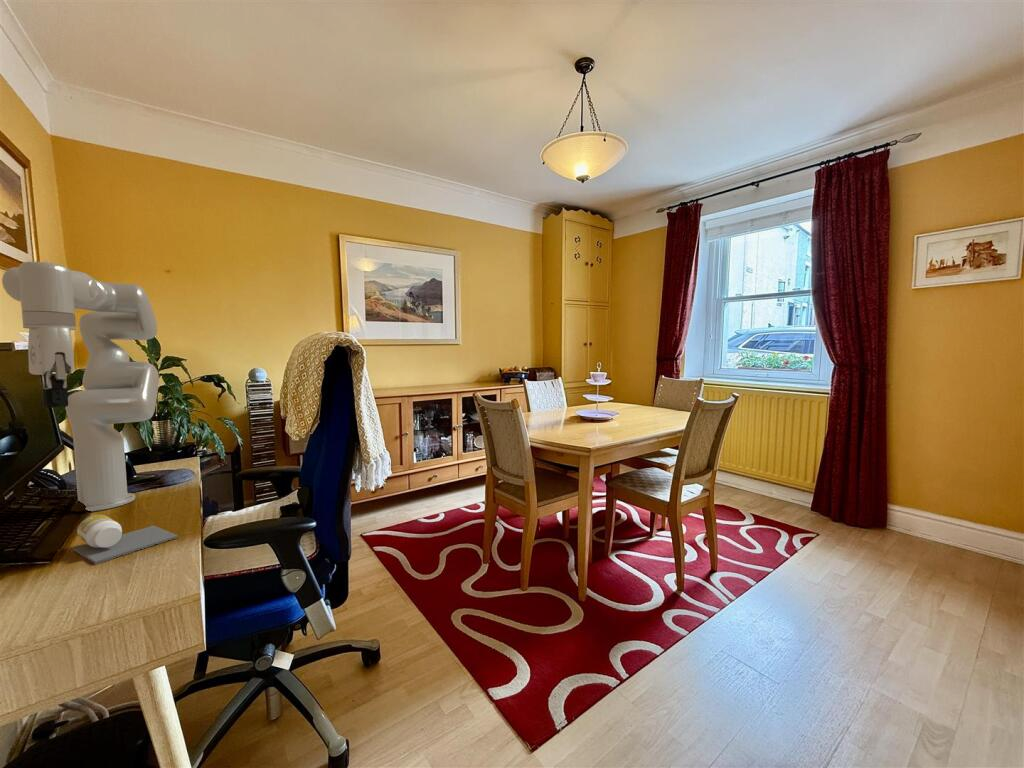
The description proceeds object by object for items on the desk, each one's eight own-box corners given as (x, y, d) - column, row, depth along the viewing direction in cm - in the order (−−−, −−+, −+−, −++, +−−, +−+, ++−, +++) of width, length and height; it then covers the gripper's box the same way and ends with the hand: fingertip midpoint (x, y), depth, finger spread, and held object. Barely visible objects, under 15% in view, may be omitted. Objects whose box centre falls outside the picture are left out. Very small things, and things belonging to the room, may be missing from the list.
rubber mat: (74, 551, 83) (73, 548, 83) (154, 527, 94) (153, 525, 94) (95, 564, 77) (95, 561, 77) (178, 538, 88) (177, 535, 88)
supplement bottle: (110, 537, 89) (124, 548, 84) (74, 543, 84) (87, 554, 79) (113, 512, 89) (128, 521, 84) (78, 516, 85) (91, 526, 79)
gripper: (13, 322, 87) (20, 407, 88) (33, 318, 80) (40, 410, 81) (64, 325, 94) (70, 404, 95) (86, 321, 87) (93, 406, 88)
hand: (56, 406), depth 88 cm, fingers closed
